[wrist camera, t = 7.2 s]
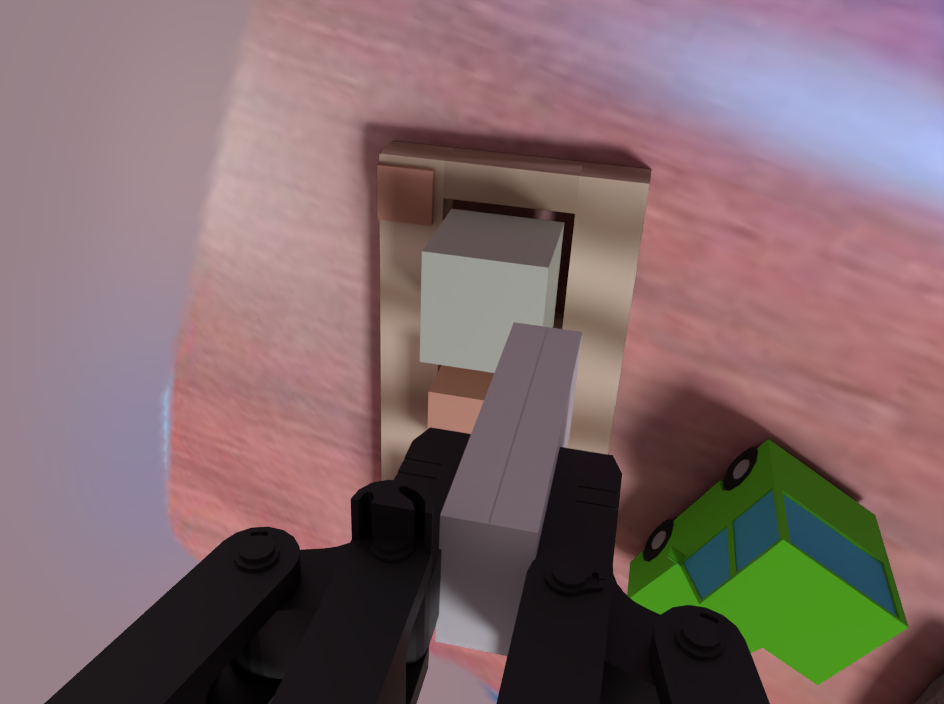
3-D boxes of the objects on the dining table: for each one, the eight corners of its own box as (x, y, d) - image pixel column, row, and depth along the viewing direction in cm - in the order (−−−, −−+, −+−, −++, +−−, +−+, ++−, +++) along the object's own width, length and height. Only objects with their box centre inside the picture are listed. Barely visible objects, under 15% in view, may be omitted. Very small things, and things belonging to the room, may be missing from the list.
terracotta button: (454, 340, 51) (428, 391, 46) (553, 354, 50) (538, 409, 45) (450, 422, 54) (426, 479, 49) (544, 438, 53) (529, 497, 48)
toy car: (612, 542, 57) (600, 660, 49) (752, 417, 50) (766, 527, 42) (732, 624, 58) (740, 752, 50) (884, 512, 52) (924, 638, 43)
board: (393, 140, 47) (377, 155, 44) (651, 169, 45) (649, 186, 42) (392, 542, 61) (380, 570, 59) (587, 578, 59) (583, 609, 56)
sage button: (451, 208, 45) (421, 251, 40) (564, 222, 44) (548, 267, 39) (447, 309, 48) (419, 361, 43) (553, 324, 47) (537, 379, 42)
